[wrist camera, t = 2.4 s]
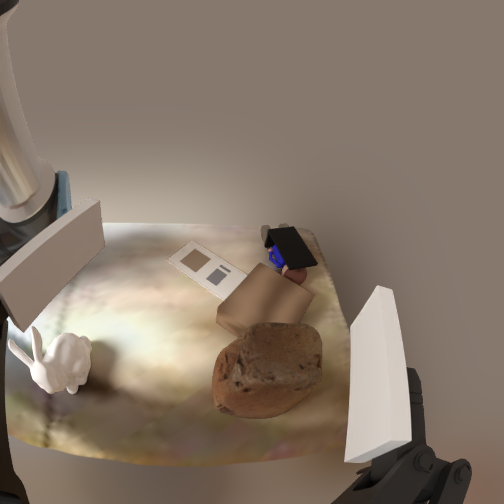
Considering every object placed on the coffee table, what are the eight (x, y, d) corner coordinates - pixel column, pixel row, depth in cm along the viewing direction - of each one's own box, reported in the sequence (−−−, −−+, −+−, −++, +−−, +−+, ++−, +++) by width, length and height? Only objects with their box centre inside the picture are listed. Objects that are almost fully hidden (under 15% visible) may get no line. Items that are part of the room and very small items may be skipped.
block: (278, 378, 42) (325, 318, 28) (279, 420, 36) (335, 386, 22) (211, 374, 40) (220, 311, 26) (209, 418, 35) (216, 384, 21)
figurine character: (254, 246, 65) (281, 293, 54) (259, 218, 60) (290, 265, 49) (280, 242, 67) (310, 287, 56) (287, 216, 62) (321, 260, 51)
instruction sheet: (166, 261, 55) (166, 259, 55) (192, 240, 60) (192, 239, 60) (224, 301, 51) (224, 300, 50) (247, 276, 56) (248, 275, 56)
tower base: (215, 322, 47) (217, 307, 44) (255, 278, 56) (259, 262, 52) (273, 360, 44) (280, 348, 40) (306, 309, 52) (314, 295, 49)
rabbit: (73, 409, 30) (37, 388, 22) (35, 378, 31) (-2, 348, 23) (106, 353, 39) (83, 317, 30) (68, 328, 40) (42, 288, 31)
